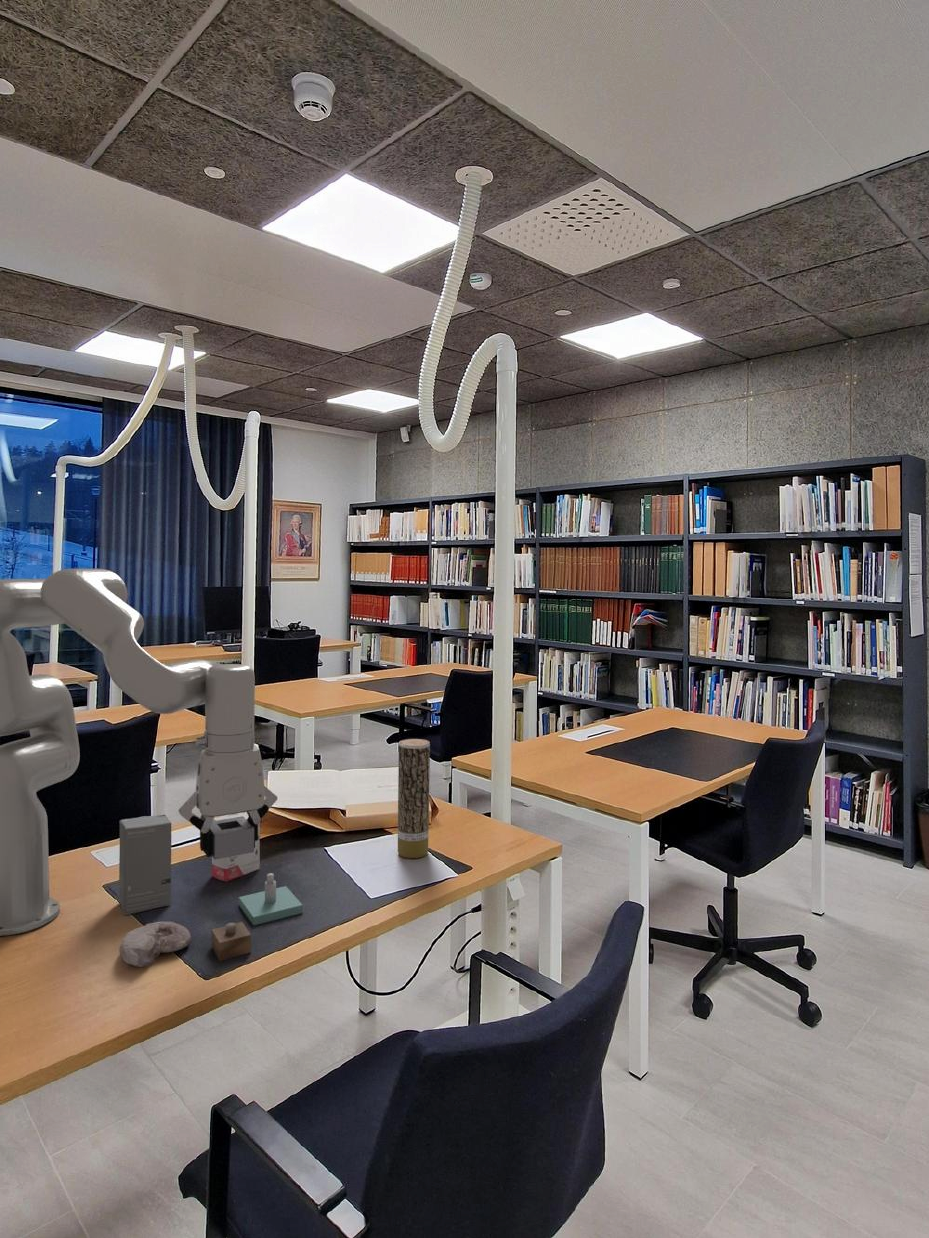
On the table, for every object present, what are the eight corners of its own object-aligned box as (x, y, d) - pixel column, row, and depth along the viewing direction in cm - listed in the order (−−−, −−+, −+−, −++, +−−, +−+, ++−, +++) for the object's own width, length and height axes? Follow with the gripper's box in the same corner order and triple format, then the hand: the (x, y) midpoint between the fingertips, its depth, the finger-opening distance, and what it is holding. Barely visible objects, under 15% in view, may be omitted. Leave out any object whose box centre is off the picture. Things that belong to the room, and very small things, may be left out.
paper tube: (434, 852, 160) (436, 741, 159) (416, 862, 155) (417, 748, 153) (409, 845, 164) (411, 737, 162) (391, 855, 158) (392, 743, 157)
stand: (219, 960, 115) (219, 935, 115) (211, 946, 119) (211, 922, 119) (250, 952, 118) (250, 927, 118) (242, 938, 122) (241, 914, 122)
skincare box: (124, 916, 129) (122, 830, 128) (118, 901, 135) (116, 818, 134) (173, 905, 133) (173, 822, 132) (166, 890, 139) (165, 810, 138)
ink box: (224, 883, 143) (224, 824, 142) (210, 876, 146) (209, 819, 145) (260, 868, 150) (260, 813, 149) (246, 862, 153) (246, 808, 152)
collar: (214, 859, 113) (214, 834, 113) (205, 846, 118) (205, 822, 118) (254, 852, 117) (254, 828, 116) (242, 839, 122) (243, 816, 121)
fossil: (160, 906, 125) (203, 922, 121) (158, 930, 125) (201, 947, 121) (99, 934, 114) (145, 953, 110) (97, 960, 114) (143, 980, 110)
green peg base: (253, 925, 127) (253, 889, 126) (238, 904, 134) (238, 870, 134) (302, 912, 132) (302, 878, 131) (285, 893, 139) (285, 860, 139)
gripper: (178, 753, 108) (178, 869, 110) (289, 740, 118) (288, 847, 119) (168, 742, 114) (168, 852, 116) (274, 731, 124) (273, 832, 125)
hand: (229, 848), depth 117 cm, fingers closed on collar, 6 cm apart
